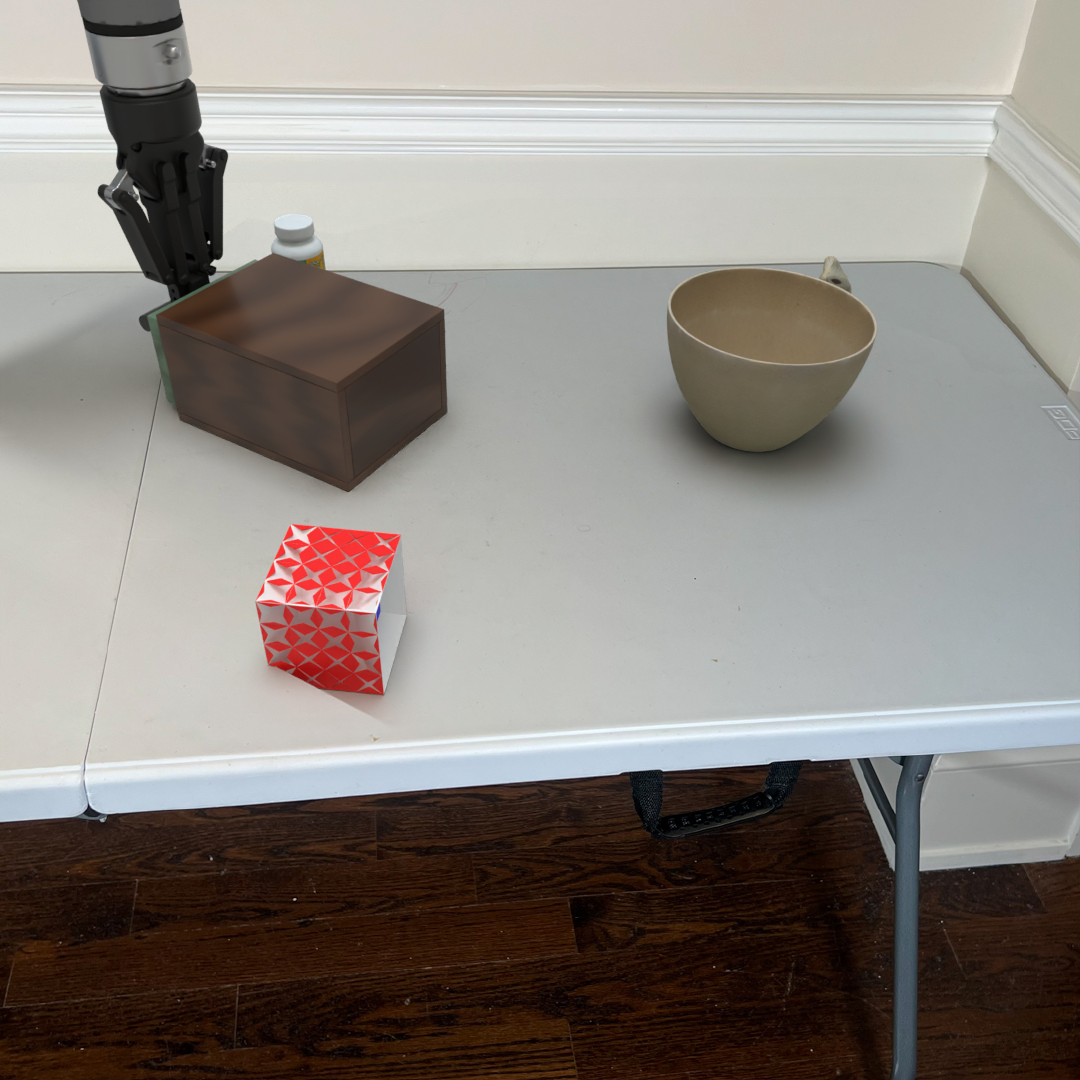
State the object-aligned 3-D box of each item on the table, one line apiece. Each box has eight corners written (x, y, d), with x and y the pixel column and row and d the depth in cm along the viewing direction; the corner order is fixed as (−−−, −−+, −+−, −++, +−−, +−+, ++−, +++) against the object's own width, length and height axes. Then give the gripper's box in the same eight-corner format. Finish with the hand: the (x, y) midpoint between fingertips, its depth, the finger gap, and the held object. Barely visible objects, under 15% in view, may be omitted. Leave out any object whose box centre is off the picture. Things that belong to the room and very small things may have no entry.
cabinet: (179, 419, 95) (155, 314, 88) (287, 352, 105) (273, 252, 98) (348, 492, 88) (336, 383, 81) (447, 411, 98) (444, 308, 91)
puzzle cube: (303, 604, 77) (290, 523, 72) (407, 614, 77) (401, 533, 72) (271, 684, 71) (254, 602, 66) (383, 696, 71) (375, 614, 66)
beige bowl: (871, 483, 91) (907, 364, 84) (670, 486, 90) (687, 365, 82) (816, 376, 105) (843, 265, 97) (640, 377, 104) (653, 264, 96)
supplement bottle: (321, 290, 115) (311, 207, 109) (336, 311, 112) (327, 227, 106) (273, 299, 114) (261, 215, 107) (287, 321, 110) (275, 235, 104)
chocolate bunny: (860, 344, 110) (883, 257, 104) (808, 364, 107) (829, 275, 100) (822, 323, 114) (842, 236, 107) (770, 341, 110) (788, 253, 104)
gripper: (116, 112, 78) (178, 380, 93) (237, 70, 87) (276, 322, 102) (48, 93, 81) (119, 356, 96) (173, 54, 90) (219, 301, 105)
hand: (200, 338), depth 99 cm, fingers closed
